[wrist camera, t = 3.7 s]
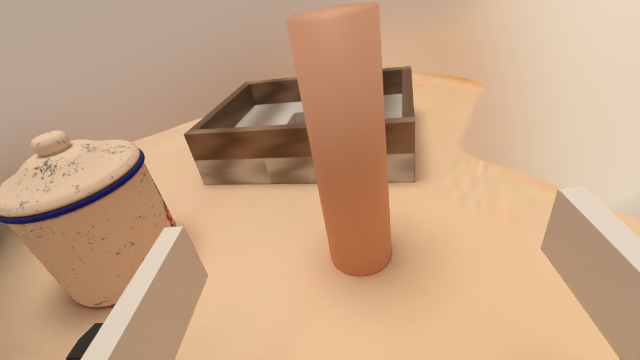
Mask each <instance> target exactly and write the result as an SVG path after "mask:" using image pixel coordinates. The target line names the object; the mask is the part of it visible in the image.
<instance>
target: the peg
mask: <svg viewBox="0 0 640 360" xmlns="http://www.w3.org/2000/svg"><path fill="white" fill-rule="evenodd" d="M286 23H287V28H288V33H289V38H290V44H291V49H292V54H293V59H294V65H295V70H296V75H297V80H298V85H299V91H300V96H301V101H302V106H303V111H304V117H305V122H306V127H307V132H308V137H309V143H310V148H311V153H312V158H313V163H314V169H315V174H316V179H317V184H318V189H319V195H320V200H321V205H322V210H323V216H324V221H325V226H326V231H327V236H328V242H329V247H330V252H331V257H332V261H333V263H334V265H335V266H336V267H337V268H338V269H339V270H341V271H342V272H344V273H346V274H349V275H353V276H367V275H371V274H374V273H377V272H379V271H380V270H382V269H383V268H384V267H385V266H386V265H387V264H388V263H389V261H390V259H391V255H392V250H391V230H390V211H389V192H388V172H387V153H386V133H385V114H384V95H383V75H382V56H381V38H380V17H379V4H378V3H354V4H346V5H339V6H333V7H327V8H322V9H317V10H312V11H308V12H304V13H301V14H298V15H294V16H292V17H289V18H288V19H287V20H286Z"/></svg>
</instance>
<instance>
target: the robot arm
mask: <svg viewBox="0 0 640 360" xmlns="http://www.w3.org/2000/svg"><path fill="white" fill-rule="evenodd" d="M541 250H542V251H543V252H544V254H545V255H546V257H547V258H548V259H549V261H550V262H551V264H552V265H553V266H554V268H555V269H556V271H557V272H558V273H559V275H560V276H561V278H562V279H563V280H564V282H565V283H566V284H567V286H568V287H569V289H570V290H571V291H572V293H573V294H574V296H575V297H576V298H577V300H578V301H579V303H580V304H581V305H582V307H583V308H584V310H585V311H586V312H587V314H588V315H589V317H590V318H591V319H592V321H593V322H594V323H595V325H596V326H597V328H598V329H599V330H600V332H601V333H602V335H603V336H604V337H605V339H606V340H607V342H608V343H609V344H610V346H611V347H612V349H613V350H614V351H615V353H616V354H617V355H618V357H619V358H620V360H640V237H638V236H637V235H636V234H635V233H634V232H633V231H632V230H631V229H630V228H629V227H627V226H626V225H625V224H624V223H623V222H622V221H621V220H620V219H619V218H618V217H616V216H615V215H614V214H613V213H612V212H611V211H610V210H609V209H608V208H606V207H605V206H604V205H603V204H602V203H601V202H599V200H598V199H597V198H595V197H594V196H593V195H592V194H591V193H590V192H589V191H588V190H587V189H585V188H584V187H583V186H582V187H571V188H561V189H558V191H557V194H556V198H555V201H554V205H553V208H552V211H551V215H550V218H549V222H548V225H547V229H546V232H545V236H544V239H543V243H542V246H541ZM207 277H208V274H207V272H206V270H205V268H204V266H203V264H202V262H201V260H200V258H199V256H198V254H197V252H196V250H195V248H194V246H193V244H192V242H191V240H190V238H189V236H188V234H187V232H186V230H185V228H184V226H177V227H167V228H164V229H163V231H162V232H161V234H160V235H159V237H158V238H157V240H156V242H155V243H154V245H153V246H152V248H151V250H150V251H149V253H148V254H147V256H146V257H145V259H144V261H143V262H142V264H141V265H140V267H139V268H138V270H137V272H136V273H135V275H134V276H133V278H132V279H131V281H130V283H129V284H128V286H127V287H126V289H125V290H124V292H123V294H122V295H121V297H120V298H119V300H118V302H117V303H116V305H115V306H114V308H113V309H112V311H111V313H110V314H109V316H108V317H107V319H106V320H105V322H104V323H95V324H94V325H93V326H92V327H91V328H90V329H89V330H88V331H87V332H86V333H85V334H84V335H83V336H82V337H81V338H80V339H79V340H78V341H77V343H76V344H75V346H74V347H73V349H72V350H71V352H70V353H69V355H68V356H67V358H66V360H174V359H175V357H176V354H177V352H178V349H179V347H180V344H181V342H182V339H183V337H184V334H185V332H186V329H187V327H188V324H189V322H190V319H191V317H192V314H193V312H194V309H195V307H196V304H197V302H198V299H199V297H200V294H201V292H202V289H203V287H204V284H205V282H206V279H207Z"/></svg>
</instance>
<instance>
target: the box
mask: <svg viewBox="0 0 640 360" xmlns="http://www.w3.org/2000/svg"><path fill="white" fill-rule="evenodd" d="M382 75H383V95H384V114H385V133H386V153H387V172H388V182H414V171H415V121H414V105H413V89H412V73H411V66H406V67H396V68H386V69H382ZM184 137H185V139H186V141H187V144H188V146H189V149H190V151H191V153H192V156H193V158H194V161H195V163H196V165H197V168H198V170H199V173H200V175H201V177H202V180H203V182H204V184H272V183H317V179H316V174H315V169H314V163H313V158H312V153H311V148H310V143H309V137H308V132H307V127H306V122H305V117H304V111H303V106H302V101H301V96H300V91H299V85H298V80H297V77H293V78H283V79H273V80H262V81H252V82H245V83H244V84H243V85H242V86H240V87H239V88H238V89H237V90H236V91H234V92H233V93H232V94H231V95H230V96H229V97H227V98H226V99H225V100H224V101H223V102H222V103H220V104H219V105H218V106H217V107H216V108H214V109H213V110H212V111H211V112H210V113H209V114H207V115H206V116H205V117H204V118H203V119H202V120H200V121H199V122H198V123H197V124H196V125H194V126H193V127H192V128H191V129H190V130H189V131H187V132H186V133H185V134H184Z"/></svg>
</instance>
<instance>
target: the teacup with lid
mask: <svg viewBox="0 0 640 360" xmlns="http://www.w3.org/2000/svg"><path fill="white" fill-rule="evenodd" d="M31 148H32V149H33V151H34V152H35V153H36V154H35V155H33V156H32V157H30V158H29V159H28V160H27V161H26V162H25V163H24V164H23V165H22V166H21V168H20V169H19V171H18V172H17V173H16V174H14V175H13V176H12V177H10V178H9V179H7V180H6V181H5V182H4V183H2V184H1V185H0V222H2V223H6V224H8V226H9V227H10V228H11V229H12V230H13V231H14V232H15V233H16V235H17V236H18V237H19V238H20V239H21V240H22V241H23V243H24V244H25V245H26V246H27V247H28V248H29V249H30V251H31V252H32V253H33V254H34V255H35V256H36V257H37V259H38V260H39V261H40V262H41V263H42V264H43V265H44V266H45V268H46V269H47V270H48V271H49V272H50V273H51V274H52V276H53V277H54V278H55V279H56V280H57V281H58V282H59V284H60V285H61V286H62V287H63V288H64V289H65V290H66V291H67V293H68V294H69V295H70V296H71V297H72V298H73V299H74V300H75V301H76V302H77V303H79V304H81V305H84V306H89V307H104V306H110V305H114V304H116V303H117V302H118V300H119V298H120V297H121V295H122V294H123V292H124V290H125V289H126V287H127V286H128V284H129V283H130V281H131V279H132V278H133V276H134V275H135V273H136V272H137V270H138V268H139V267H140V265H141V264H142V262H143V261H144V259H145V257H146V256H147V254H148V253H149V251H150V250H151V248H152V246H153V245H154V243H155V242H156V240H157V238H158V237H159V235H160V234H161V232H162V231H163V229H164V228H167V227H177V225H176V223H175V221H174V219H173V218H172V216H171V214H170V212H169V210H168V208H167V206H166V204H165V202H164V200H163V198H162V196H161V194H160V192H159V190H158V188H157V186H156V184H155V183H154V181H153V179H152V177H151V175H150V173H149V171H148V169H147V167H146V165H145V163H144V159H145V157H144V153H143V152H142V151H141V150H140V149H139V148H138V147H137V146H136V145H135V144H133V143H131V142H129V141H125V140H103V141H92V140H73V141H70V139H69V137H68V135H67V134H66V133H64V132H62V131H52V132H48V133H45V134H42V135H40V136H38V137H36V138H34V139H33V140H32V141H31Z"/></svg>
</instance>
